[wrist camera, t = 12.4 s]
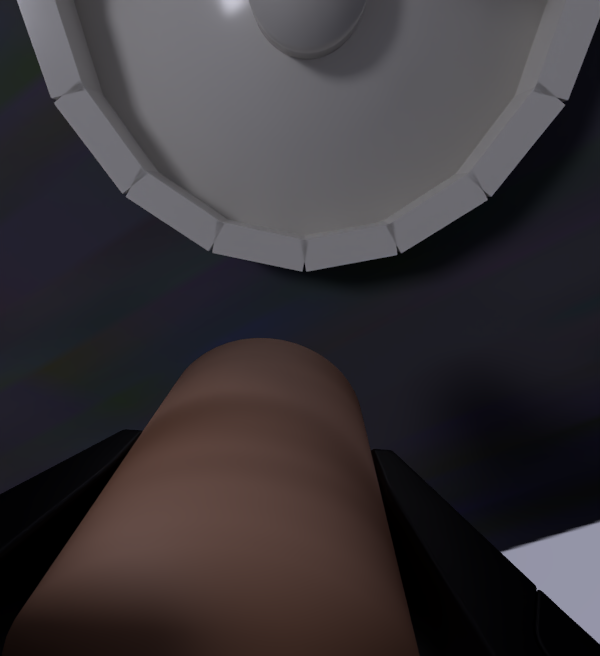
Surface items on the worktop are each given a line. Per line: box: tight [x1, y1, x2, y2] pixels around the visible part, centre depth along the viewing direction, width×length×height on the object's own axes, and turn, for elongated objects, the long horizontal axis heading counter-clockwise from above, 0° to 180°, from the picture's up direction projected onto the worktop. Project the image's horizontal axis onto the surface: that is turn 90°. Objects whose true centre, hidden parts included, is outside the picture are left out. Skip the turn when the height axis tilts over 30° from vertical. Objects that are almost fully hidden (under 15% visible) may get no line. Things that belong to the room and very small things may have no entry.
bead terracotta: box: [2, 338, 420, 656], centre depth 6 cm, size 4×4×5 cm
